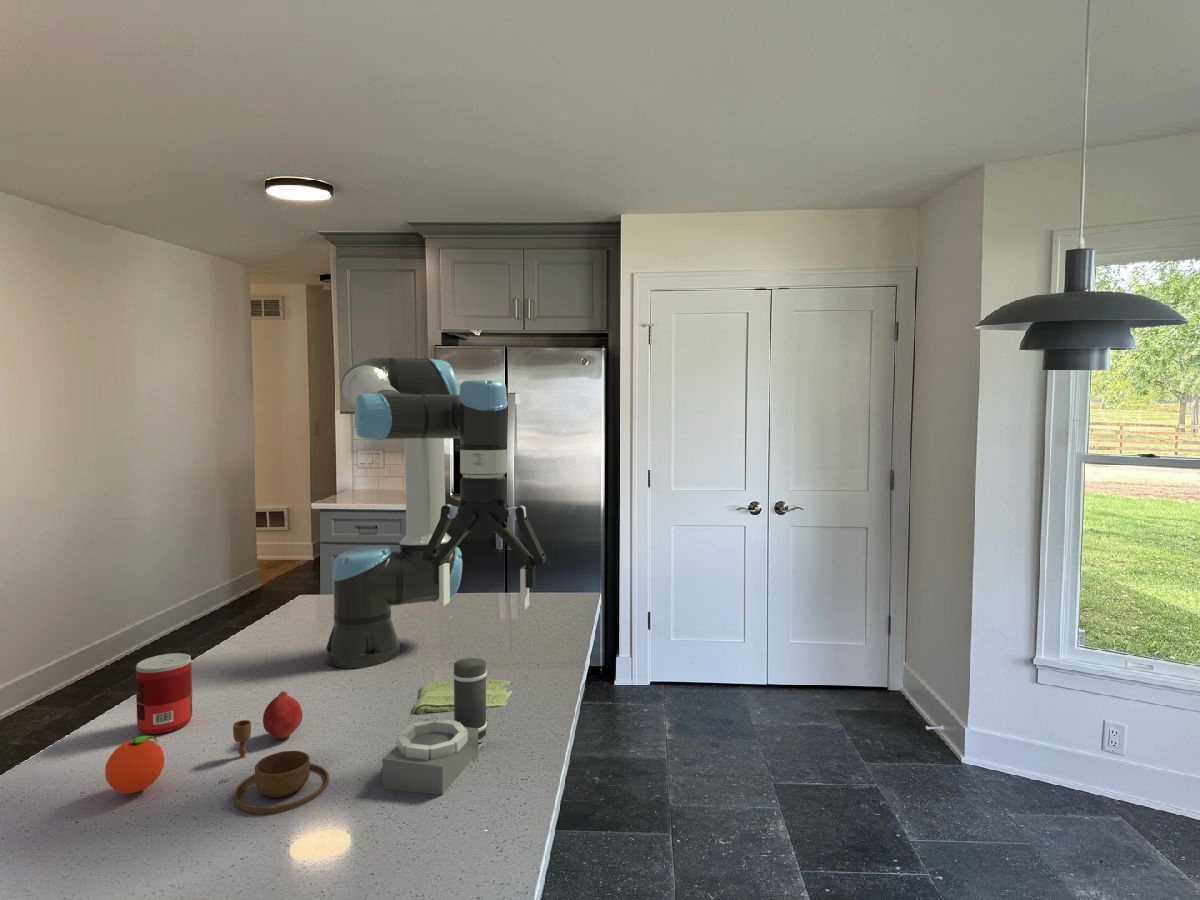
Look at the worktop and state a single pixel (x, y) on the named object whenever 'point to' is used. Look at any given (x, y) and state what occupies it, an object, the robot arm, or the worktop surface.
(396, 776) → the block with octagonal ring
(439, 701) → the washcloth
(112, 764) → the clementine
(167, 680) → the canned food
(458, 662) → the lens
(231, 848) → the worktop surface
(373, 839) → the worktop surface
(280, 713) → the onion
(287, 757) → the place setting
